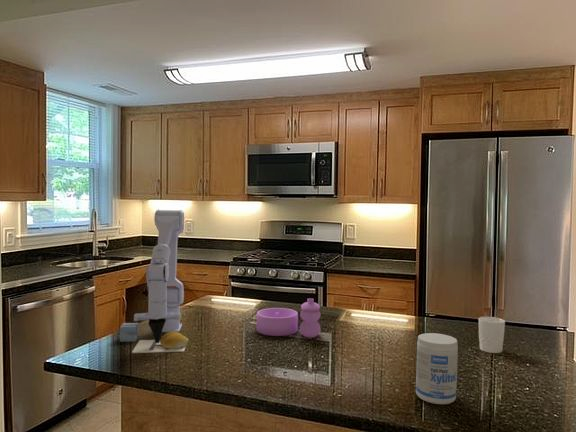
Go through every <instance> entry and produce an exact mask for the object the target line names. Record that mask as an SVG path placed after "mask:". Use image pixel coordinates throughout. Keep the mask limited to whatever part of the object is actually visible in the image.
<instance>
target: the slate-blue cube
mask: <svg viewBox="0 0 576 432" xmlns="http://www.w3.org/2000/svg"><path fill="white" fill-rule="evenodd" d="M138 338H139V322H123V323H122V324H121V325H120V327H119V342H121V343H123V342H127V343H128V342H136V341H137V339H138Z"/></svg>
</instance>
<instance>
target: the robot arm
mask: <svg viewBox="0 0 576 432" xmlns="http://www.w3.org/2000/svg"><path fill="white" fill-rule="evenodd" d="M153 220H154V225H155V227H156V229H157V231H158V235H157V236H158V237H157V245H154V247H153V249H152V252H151V253H152V254H151V259H150V264H149V265H147V267H146V270H145V278H146V286H147V288H148V309H147V310H148V311H147V312H142V313H135V314H133V322H138V321H148V326H149V328H150V330H151V333H152V335H153V338H154V340H155V343H159V342H160V339H161V337H162V336H161V335H162V333H168V332H178V333H180V330H181V329H182V326H183V323H180V321H181V318H182V315H181V314H182V313H181V311H180V309H181V305H183V304H184V299H185V290H184V289H185V288H184V286H185V285H184V283H183V282H182V281H180V280H179V279H178V278H177V269H178V268H177V266H178V264H177V263H178V240H179V235H181V234H182V233H184V230H185V213H184V211H183V210H182V209H178V210H174V209H172V210H171V209H170V210H169V209H168V210H166V209H165V210H163V209H162V210H161V209H156V211H155V212H154V219H153Z"/></svg>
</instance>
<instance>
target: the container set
mask: <svg viewBox="0 0 576 432" xmlns="http://www.w3.org/2000/svg"><path fill="white" fill-rule="evenodd" d="M300 308H301V311H300V314H299V312H298V311H296V310H295V309H291V308H284V307H270V308H269V307H268V308H263V309H260V310H258V311H257V312H256V332H257V333H259V334H262V335H265V336H271V337H272V336H273V337H274V336H275V337H279V336H281V337H284V336H289V335H290V336H291V335H293V334H295V333H297V332H298V329H299V331H300V333H301V335H302V336H303V337H305V338H316V337H317V336H319V334H320V333H321V325H320V323H319V321H318V320H320V319H321V312H320V308H321V306H320V304H319V303H317V302H314V298H307V301H305V302H303V303H302V304H301V306H300ZM299 316H300V319H302V322H300V325H299V322H298V321H299ZM298 327H299V328H298Z"/></svg>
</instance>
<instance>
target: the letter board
mask: <svg viewBox="0 0 576 432" xmlns="http://www.w3.org/2000/svg"><path fill="white" fill-rule="evenodd" d="M187 342H189V338H187ZM187 345H188V343H187V344H186V345H185V346H184V347H181V348H177V349H167V348H165V347H164V346H162V345H161V343H160V342H159V343H155V339H139V340H138V343H137V344H136V345H135V347H134V348H133V350H132V351H131V354H144V353H145V354H146V353H147V354H150V353H151V354H153V353H179V352H181V353H185V350H186V348H187Z"/></svg>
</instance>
